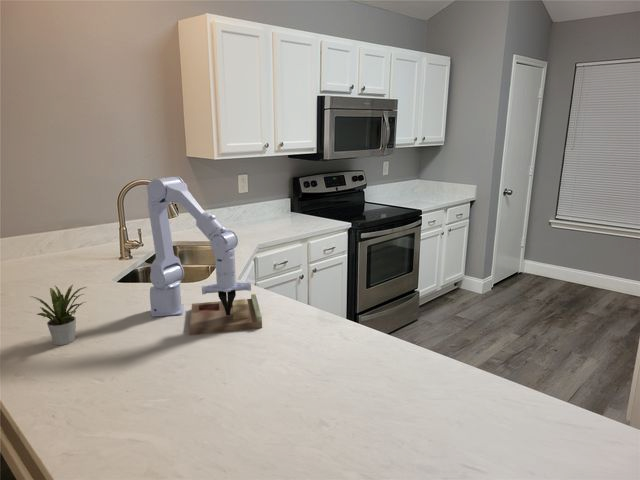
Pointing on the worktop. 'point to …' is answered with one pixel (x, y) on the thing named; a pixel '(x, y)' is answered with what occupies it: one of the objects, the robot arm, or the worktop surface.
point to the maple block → (240, 309)
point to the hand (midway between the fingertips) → (228, 313)
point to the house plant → (61, 316)
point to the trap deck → (222, 317)
